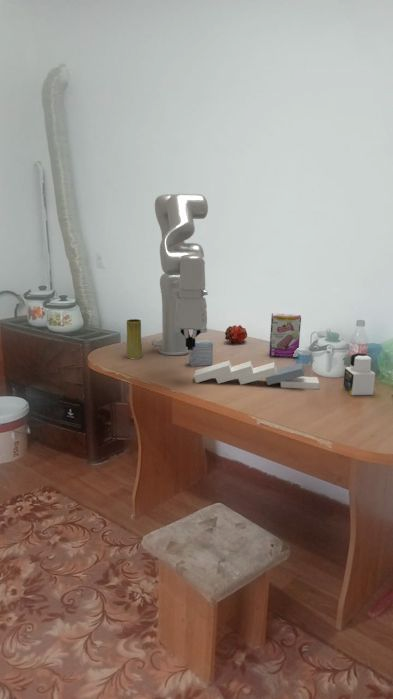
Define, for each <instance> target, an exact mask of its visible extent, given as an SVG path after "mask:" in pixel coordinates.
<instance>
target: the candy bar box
mask: <svg viewBox="0 0 393 699" xmlns="http://www.w3.org/2000/svg"><path fill="white" fill-rule="evenodd" d="M270 320H271V322H270V333H269V334H270V335H269V336H270V337H269V352H268V354H269V358H270V357H272V358H273V357H275V358H290V357H293V354H294V351H295V350H296V349H297V348H299V349H300V338H301V337H300V335H301V325H302V315H301V314H298V313H297V314H296V313H295V314H293V313H292V314H291V313H273V312H272V313H271V318H270Z"/></svg>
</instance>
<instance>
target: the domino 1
mask: <svg viewBox="0 0 393 699" xmlns="http://www.w3.org/2000/svg"><path fill="white" fill-rule="evenodd" d="M231 363H232V362H231V360H226V361H222V362H219V363H216V364H212V365H208V366H205V367H203V368H200V369H196V370H195V372H194V375H193V378H194V381H195V383H196V384H197V383H200V382H204V381H208V380H211V379H215V378H216V377H218V376H221V375H224V374H227V373H231V369H232V367H233V365H232V364H231Z"/></svg>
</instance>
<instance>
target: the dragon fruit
mask: <svg viewBox="0 0 393 699" xmlns="http://www.w3.org/2000/svg"><path fill="white" fill-rule="evenodd" d="M224 336H225V337H224V339H225V340H227V342H229V343H230V344H233V345H234V343H236V344H243V343H244V342H245V340H246V339H247V337H248V333H247V329H246V328H245V327H243V326H242V325H238V326H237V325H232V326H228V327H226V330H225V332H224Z"/></svg>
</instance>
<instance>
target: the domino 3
mask: <svg viewBox="0 0 393 699" xmlns="http://www.w3.org/2000/svg"><path fill="white" fill-rule="evenodd" d="M276 370H277V367H276V363H275V361H273V362H271V363H270V362H269V363H266V364H263V365H259V366H256V367H253V373H252V374H249V375H246V376H242V377H239V378H237V379H238V382H239V385H245V384H248V383H253V382H255V381H258V380H263V379H265V378H267V377H270V376H274V375H276Z"/></svg>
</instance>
